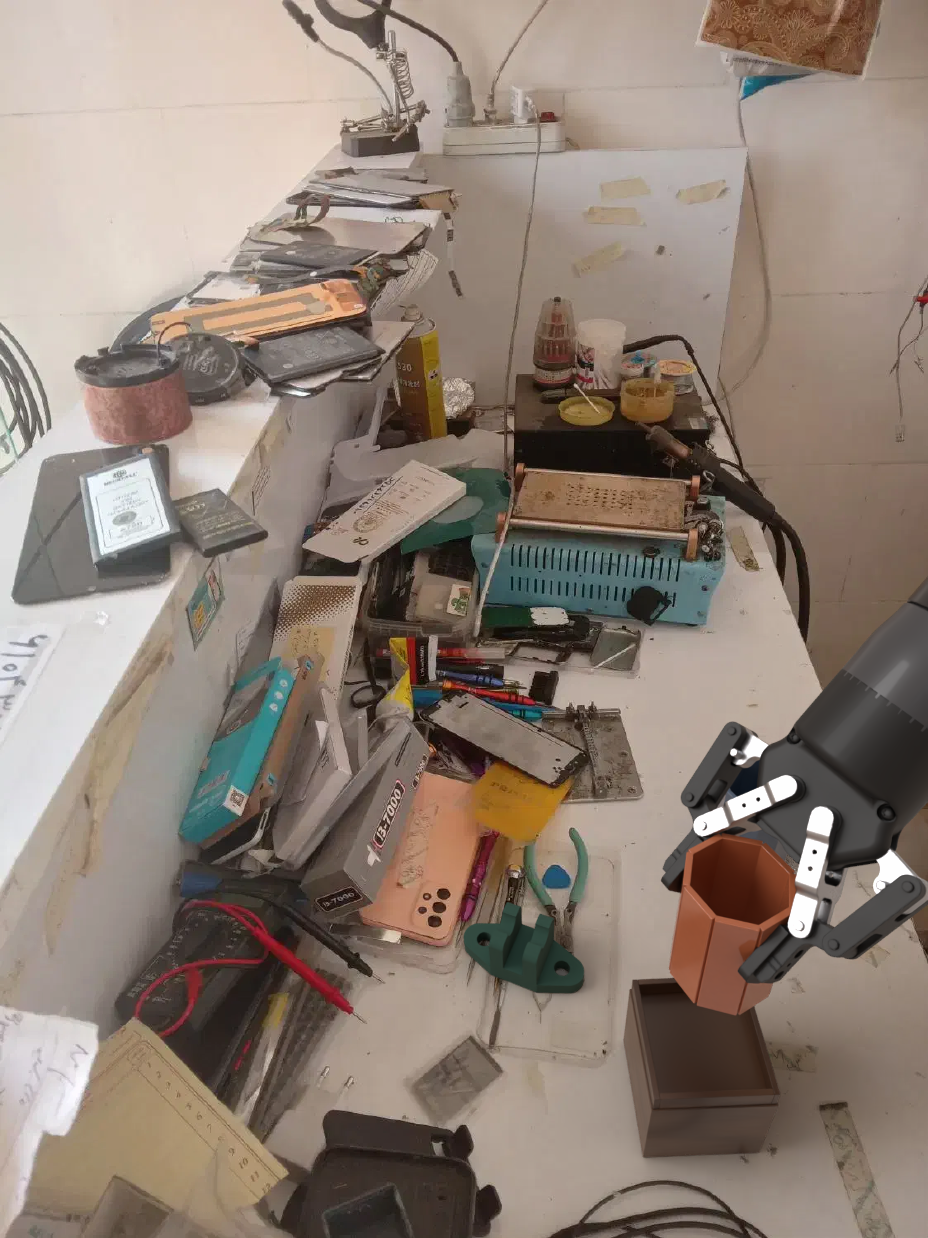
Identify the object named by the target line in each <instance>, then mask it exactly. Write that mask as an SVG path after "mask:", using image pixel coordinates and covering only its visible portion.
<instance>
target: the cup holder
mask: <svg viewBox="0 0 928 1238" xmlns="http://www.w3.org/2000/svg"><path fill="white" fill-rule="evenodd" d="M625 1017H626V1018H625V1025H624V1033H623V1045H624V1051H625V1052H624V1053H625V1058H626V1063H627V1064H626V1065H627V1070H628V1075H629V1082H630V1083H629V1084H630V1088H631V1093H632V1100H633V1101H632V1102H633V1106H634V1113H635V1119H636V1125H637V1130H638V1138H639V1143H640V1149H641V1155H642V1157H643V1158H658V1157H659V1158H661V1157H685V1156H686V1157H687V1156H708V1155H735V1154H758V1153H760V1152H761V1150H762V1147H763V1145H764V1142H765V1140H766V1138H767V1135H768V1134H769V1130H770V1129H771V1128H770V1127H771V1125H772V1123H773V1121H774V1118H775V1115H776V1113H777V1111H778V1108H779V1100H780V1097H781V1091H780V1088H779V1084H778V1081H777V1077H776V1075H775V1071H774V1067H773V1064H772V1061H771V1057H770V1054H769V1050H768V1046H767V1044H766V1040H765V1037H764V1034H763V1029H762V1028H761V1027H762V1026H761V1023H760V1020H759V1017H758V1014H757V1010H756V1007H755V1006H753V1007H752V1008H750V1009H748V1010H747V1011H745V1012H744V1013H742V1014H741V1015H739V1014H738V1013H737V1015H732V1014H728V1013H724V1012H720V1011H716V1010H712V1009H708V1008H704V1007H700V1006H697V1002H696V1003H693V1002H692V1001H691V999H690V998H689V997H688V995H687V994H686V993H685V992H684V990H683V989H682V988H681V986H680V985H679V984H678V983H677V981H676V980H675V979H674V977H663V978H661V977H659V978H641V979H632V981H631V988H629V990H628V1000H627V1008H626V1016H625Z"/></svg>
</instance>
